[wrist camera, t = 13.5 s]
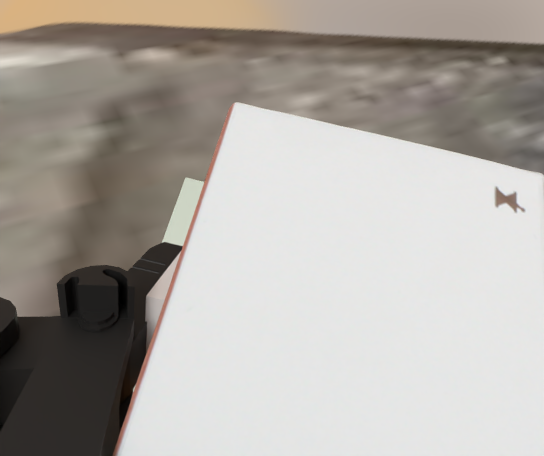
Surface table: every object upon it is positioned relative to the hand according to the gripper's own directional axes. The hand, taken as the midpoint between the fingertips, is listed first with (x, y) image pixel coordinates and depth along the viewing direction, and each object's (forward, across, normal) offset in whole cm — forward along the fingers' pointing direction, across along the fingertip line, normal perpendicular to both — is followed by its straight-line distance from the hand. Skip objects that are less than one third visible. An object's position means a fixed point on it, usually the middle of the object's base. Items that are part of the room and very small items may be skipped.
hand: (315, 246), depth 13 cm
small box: (+2, 0, -7) cm, 7 cm away
